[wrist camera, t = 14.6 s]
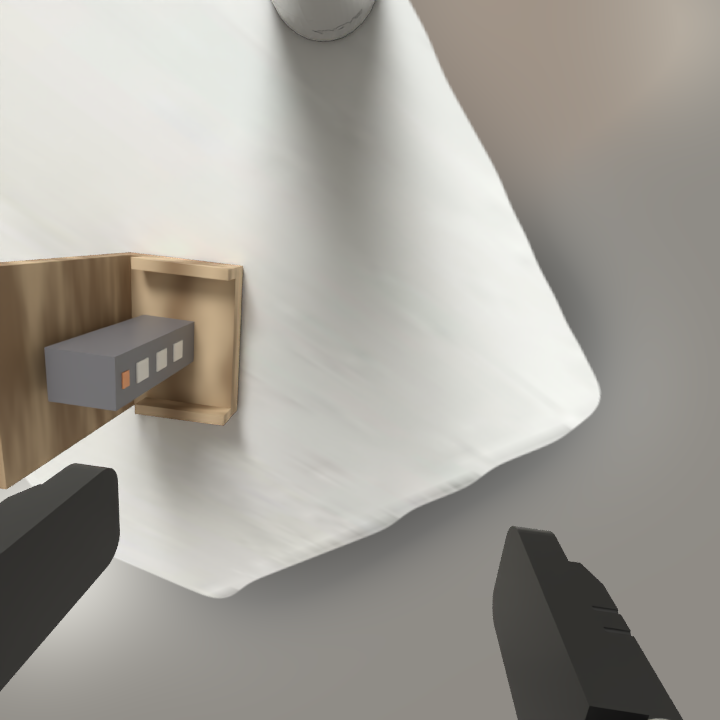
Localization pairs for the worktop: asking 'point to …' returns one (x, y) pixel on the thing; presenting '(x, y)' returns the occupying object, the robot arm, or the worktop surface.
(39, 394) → the wooden angled stand
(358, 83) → the worktop surface
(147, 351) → the power strip
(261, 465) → the worktop surface
